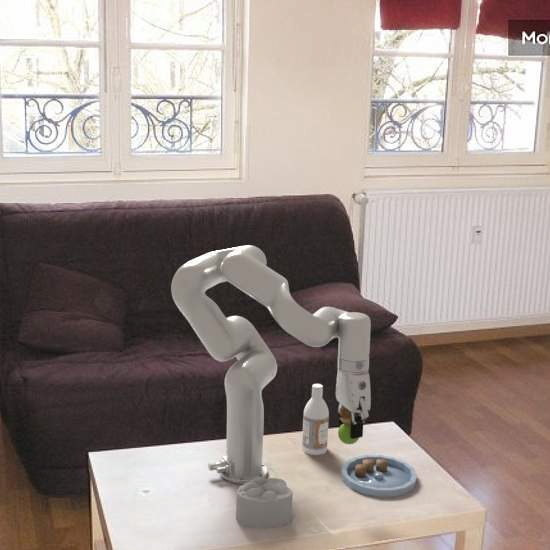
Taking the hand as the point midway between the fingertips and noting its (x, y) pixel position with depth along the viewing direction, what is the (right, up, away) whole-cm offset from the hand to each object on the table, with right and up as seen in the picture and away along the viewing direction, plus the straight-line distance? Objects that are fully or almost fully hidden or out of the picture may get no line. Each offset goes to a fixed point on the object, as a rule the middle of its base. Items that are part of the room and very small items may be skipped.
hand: (350, 431), depth 218 cm
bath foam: (-8, -11, +28) cm, 31 cm away
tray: (+8, -15, +13) cm, 22 cm away
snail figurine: (0, -3, +1) cm, 3 cm away
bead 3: (+10, -13, +17) cm, 23 cm away
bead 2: (+6, -13, +16) cm, 22 cm away
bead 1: (+4, -14, +14) cm, 20 cm away
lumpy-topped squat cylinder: (-22, -20, -6) cm, 30 cm away
